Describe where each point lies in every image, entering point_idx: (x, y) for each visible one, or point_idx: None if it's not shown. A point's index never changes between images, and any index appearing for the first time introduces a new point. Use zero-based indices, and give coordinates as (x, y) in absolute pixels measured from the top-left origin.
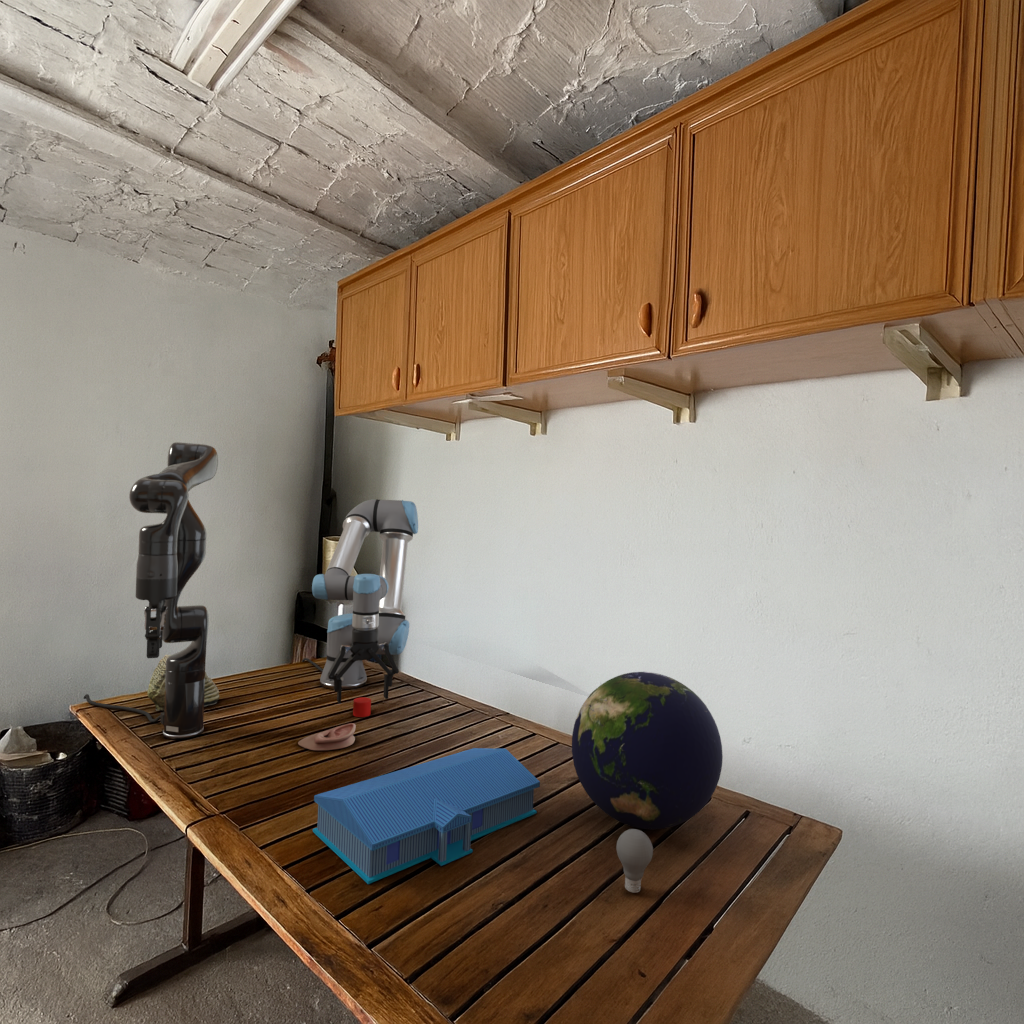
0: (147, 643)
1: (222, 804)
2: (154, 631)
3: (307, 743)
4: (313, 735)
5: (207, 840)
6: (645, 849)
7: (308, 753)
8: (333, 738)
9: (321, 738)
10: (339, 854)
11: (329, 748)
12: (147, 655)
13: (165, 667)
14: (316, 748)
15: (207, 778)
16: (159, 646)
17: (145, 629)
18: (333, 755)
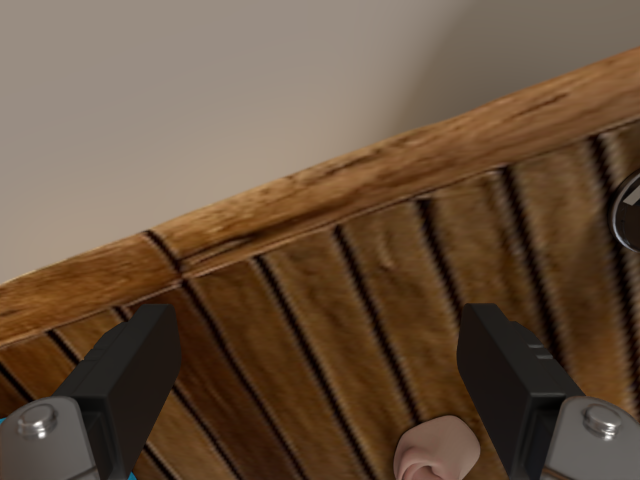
0: (90, 375)
1: (218, 283)
2: (521, 424)
3: (428, 432)
4: (443, 451)
5: (86, 260)
6: None
7: (397, 424)
8: (405, 478)
9: (409, 463)
10: (2, 420)
11: (396, 457)
12: (141, 313)
13: None
14: (403, 440)
15: (348, 259)
16: (149, 423)
17: (87, 469)
18: (370, 456)
